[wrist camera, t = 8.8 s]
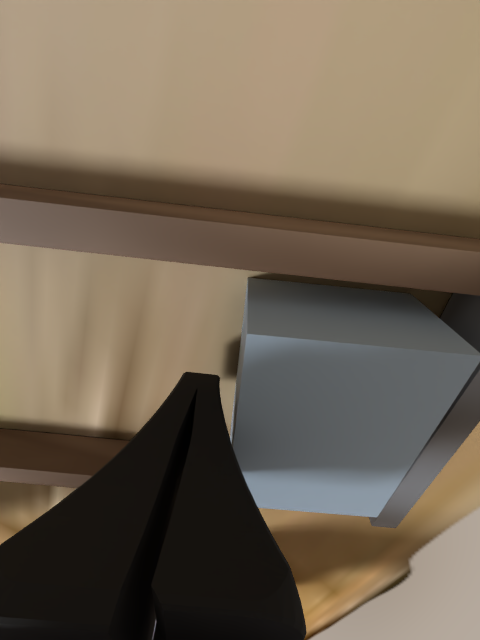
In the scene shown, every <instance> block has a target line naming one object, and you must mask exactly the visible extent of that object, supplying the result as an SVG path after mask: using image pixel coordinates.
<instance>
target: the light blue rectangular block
mask: <svg viewBox="0 0 480 640" xmlns="http://www.w3.org/2000/svg"><path fill="white" fill-rule="evenodd" d="M479 362H480V353H479V352H478V351H477V350H476V349H475V348H473V347H472V346H471V345H470V344H469V343H468V342H466V341H465V340H464V339H463V338H462V337H461V336H459V335H458V334H457V333H456V332H455V331H454V330H452V329H451V328H450V327H449V326H448V325H447V324H445V323H444V322H443V321H442V320H441V319H440V318H438V317H437V316H436V315H435V314H434V313H433V312H431V311H430V310H429V309H428V308H427V307H426V306H424V305H423V304H422V303H421V302H420V301H419V300H417V299H416V298H415V297H414V296H413V295H412V294H408V293H398V292H388V291H378V290H368V289H358V288H348V287H338V286H328V285H318V284H308V283H298V282H288V281H278V280H268V279H258V278H248V282H247V291H246V299H245V308H244V317H243V326H242V335H241V343H240V352H239V361H238V370H237V379H236V388H235V396H234V405H233V414H232V423H231V436H230V440H231V444H232V447H233V450H234V453H235V455H236V458H237V461H238V463H239V466H240V469H241V471H242V474H243V476H244V478H245V481H246V483H247V485H248V488H249V490H250V492H251V494H252V496H253V498H254V500H255V503H256V505H257V507H258V508H269V509H281V510H293V511H305V512H317V513H329V514H342V515H354V516H366V517H378V515H379V514H380V512H381V511H382V509H383V508H384V506H385V505H386V503H387V502H388V500H389V499H390V497H391V496H392V494H393V493H394V491H395V490H396V488H397V487H398V485H399V484H400V482H401V480H402V479H403V477H404V476H405V474H406V473H407V471H408V470H409V468H410V467H411V465H412V464H413V462H414V461H415V459H416V458H417V456H418V455H419V453H420V452H421V450H422V449H423V447H424V446H425V444H426V443H427V441H428V440H429V438H430V437H431V435H432V434H433V432H434V430H435V429H436V427H437V426H438V424H439V423H440V421H441V420H442V418H443V417H444V415H445V414H446V412H447V411H448V409H449V408H450V406H451V405H452V403H453V402H454V400H455V399H456V397H457V396H458V394H459V393H460V391H461V390H462V388H463V387H464V385H465V384H466V382H467V380H468V379H469V377H470V376H471V374H472V373H473V371H474V370H475V368H476V367H477V365H478V364H479Z"/></svg>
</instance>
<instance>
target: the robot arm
mask: <svg viewBox="0 0 480 640" xmlns="http://www.w3.org/2000/svg"><path fill="white" fill-rule="evenodd" d="M219 381H220V377H219V376H218V375H212V374H202V373H192V372H185V373H184V374H183V375H182V377H181V379H180V380H179V382H178V383H177V385H176V386H175V388H174V389H173V391H172V392H171V393H170V395H169V396H168V397H167V399H166V400H165V401H164V403H163V404H162V405H161V406H160V408H159V409H158V410H157V411H156V413H155V414H154V415H153V416H152V417H151V419H150V420H149V421H148V422H147V423H146V424H145V425H144V426H143V428H142V429H141V430H140V431H139V432H138V433H137V434H136V435H135V436H134V437H133V438H132V439H131V441H130V442H129V443H128V444H127V445H126V446H125V447H124V448H122V449H121V450H120V451H119V452H118V453H117V454H116V455H115V456H114V457H113V458H112V459H111V460H110V461H109V462H108V463H106V464H105V465H104V466H103V467H102V468H101V469H100V470H99V471H98V472H96V473H95V474H94V475H93V476H92V477H91V478H89V479H88V480H87V481H86V482H85V483H83V484H82V485H81V486H80V487H78V488H77V489H76V490H74V491H73V492H72V493H71V494H69V495H68V496H67V497H66V498H64V499H63V500H62V501H61V502H59V503H58V504H57V505H55V506H54V507H53V508H51V509H50V510H49V511H47V512H46V513H45V514H43V515H42V516H40V517H39V518H38V519H36V520H35V521H33V522H32V523H31V524H29V525H28V526H26V527H25V528H23V529H22V530H21V531H19V532H18V533H16V534H15V535H14V536H12V537H11V538H9V539H8V540H6V541H5V542H4V543H2V544H1V545H0V640H304V638H305V635H306V625H305V619H304V614H303V609H302V605H301V601H300V597H299V594H298V590H297V587H296V584H295V581H294V578H293V575H292V571H291V568H290V566H289V564H288V562H287V561H286V559H285V557H284V555H283V554H282V552H281V550H280V549H279V547H278V545H277V543H276V541H275V540H274V538H273V536H272V534H271V532H270V530H269V529H268V527H267V525H266V523H265V521H264V519H263V517H262V515H261V513H260V511H259V509H258V507H257V505H256V503H255V500H254V498H253V496H252V494H251V492H250V490H249V488H248V485H247V483H246V481H245V478H244V476H243V474H242V471H241V469H240V466H239V463H238V461H237V458H236V455H235V453H234V450H233V447H232V444H231V440H230V437H229V434H228V430H227V427H226V423H225V418H224V414H223V410H222V404H221V398H220V388H219Z"/></svg>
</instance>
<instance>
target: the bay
mask: <svg viewBox="0 0 480 640" xmlns="http://www.w3.org/2000/svg"><path fill="white" fill-rule="evenodd" d="M0 243H7V244H16V245H26V246H35V247H44V248H53V249H62V250H71V251H80V252H89V253H98V254H107V255H116V256H125V257H134V258H143V259H152V260H161V261H170V262H179V263H188V264H197V265H206V266H215V267H225V268H234V269H243V270H252V271H261V272H270V273H279V274H288V275H297V276H306V277H315V278H324V279H333V280H342V281H351V282H360V283H369V284H378V285H387V286H396V287H405V288H415V289H424V290H433V291H442V292H451V293H453V294H452V296H451V298H450V300H449V302H448V304H447V305H446V307H445V309H444V311H443V313H442V315H441V317H440V319H441V320H442V321H443V322H444V323H445V324H447V325H448V326H449V327H450V328H451V329H452V330H454V331H455V332H456V333H457V334H458V335H459V336H461V337H462V338H463V339H464V340H465V341H466V342H468V343H469V344H470V345H471V346H472V347H473V348H475V349H476V350H477V351H478V352H479V353H480V239H474V238H465V237H457V236H448V235H439V234H431V233H422V232H413V231H405V230H396V229H387V228H379V227H370V226H361V225H353V224H344V223H335V222H327V221H318V220H309V219H300V218H292V217H283V216H274V215H266V214H257V213H248V212H240V211H231V210H222V209H214V208H205V207H196V206H188V205H179V204H170V203H162V202H153V201H144V200H135V199H127V198H118V197H109V196H101V195H92V194H83V193H75V192H66V191H57V190H49V189H40V188H31V187H23V186H14V185H5V184H0ZM479 421H480V362H479V364H478V365H477V367H476V368H475V370H474V371H473V373H472V374H471V376H470V377H469V379H468V380H467V382H466V384H465V385H464V387H463V388H462V390H461V391H460V393H459V394H458V396H457V397H456V399H455V400H454V402H453V403H452V405H451V406H450V408H449V409H448V411H447V412H446V414H445V415H444V417H443V418H442V420H441V421H440V423H439V424H438V426H437V427H436V429H435V430H434V432H433V434H432V435H431V437H430V438H429V440H428V441H427V443H426V444H425V446H424V447H423V449H422V450H421V452H420V453H419V455H418V456H417V458H416V459H415V461H414V462H413V464H412V465H411V467H410V468H409V470H408V471H407V473H406V474H405V476H404V477H403V479H402V480H401V482H400V484H399V485H398V487H397V488H396V490H395V491H394V493H393V494H392V496H391V497H390V499H389V500H388V502H387V503H386V505H385V506H384V508H383V509H382V511H381V512H380V514H379V515H378V517H369V519H370V522H371V525H372V526H378V527H389V528H396V527H397V526H398V525H399V523H400V522H401V521H402V520H403V518H404V517H405V516H406V514H407V513H408V512H409V511H410V509H411V508H412V507H413V506H414V504H415V503H416V502H417V500H418V499H419V498H420V497H421V495H422V494H423V493H424V492H425V490H426V489H427V488H428V486H429V485H430V484H431V483H432V481H433V480H434V479H435V477H436V476H437V475H438V474H439V472H440V471H441V470H442V469H443V467H444V466H445V465H446V463H447V462H448V461H449V460H450V458H451V457H452V456H453V455H454V453H455V452H456V451H457V449H458V448H459V447H460V446H461V444H462V443H463V442H464V440H465V439H466V438H467V437H468V435H469V434H470V433H471V432H472V430H473V429H474V428H475V426H476V425H477V424H478V423H479ZM129 442H130V441H125V440H115V439H104V438H94V437H83V436H73V435H62V434H52V433H42V432H31V431H21V430H10V429H0V481H6V482H17V483H28V484H38V485H49V486H60V487H71V488H78V487H80V486H81V485H82V484H83V483H85V482H86V481H87V480H88V479H89V478H91V477H92V476H93V475H94V474H95V473H96V472H98V471H99V470H100V469H101V468H102V467H103V466H104V465H105V464H106V463H108V462H109V461H110V460H111V459H112V458H113V457H114V456H115V455H116V454H117V453H118V452H119V451H120V450H121V449H122V448H124V447H125V446H126V445H127V444H128V443H129Z"/></svg>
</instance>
